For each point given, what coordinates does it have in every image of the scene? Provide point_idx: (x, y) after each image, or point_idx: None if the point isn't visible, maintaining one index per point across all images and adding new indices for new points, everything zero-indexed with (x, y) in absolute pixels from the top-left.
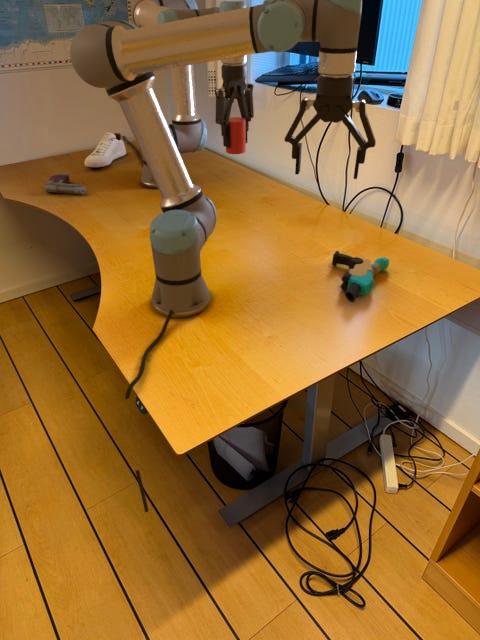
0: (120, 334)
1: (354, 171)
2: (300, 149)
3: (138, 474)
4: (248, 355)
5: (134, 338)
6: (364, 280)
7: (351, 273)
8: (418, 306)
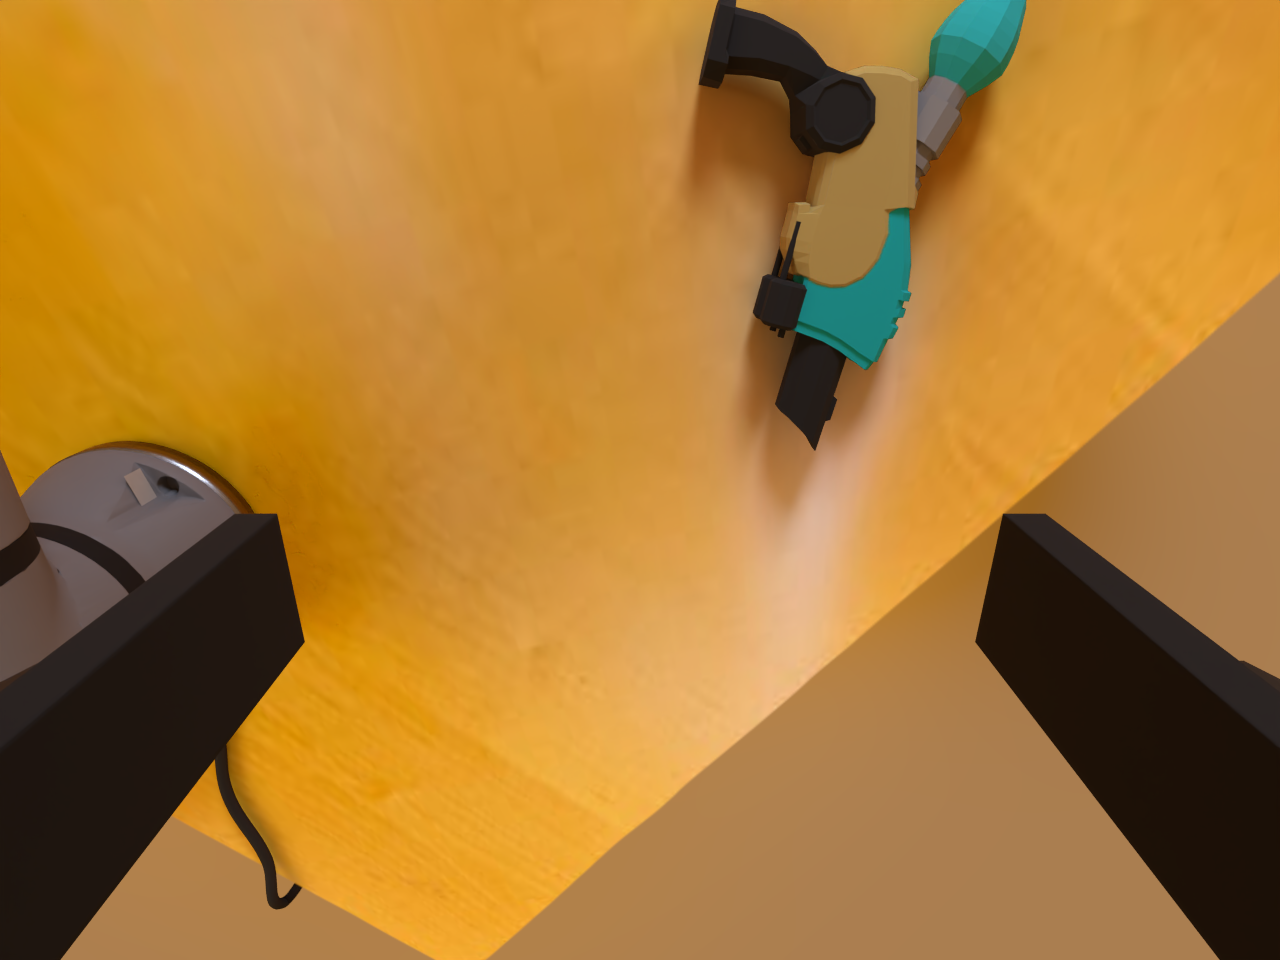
0: None
1: (1021, 701)
2: (62, 852)
3: None
4: (502, 733)
5: None
6: (867, 318)
7: (807, 267)
8: (1072, 357)
